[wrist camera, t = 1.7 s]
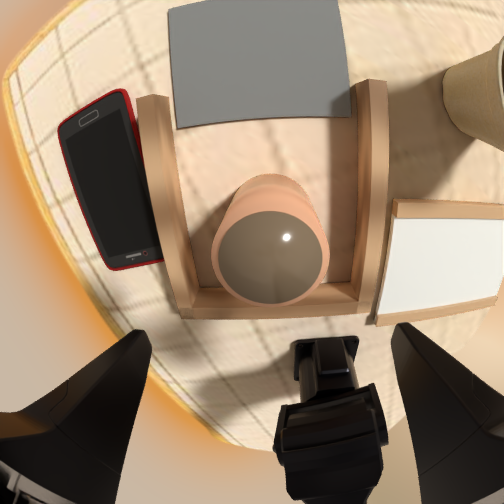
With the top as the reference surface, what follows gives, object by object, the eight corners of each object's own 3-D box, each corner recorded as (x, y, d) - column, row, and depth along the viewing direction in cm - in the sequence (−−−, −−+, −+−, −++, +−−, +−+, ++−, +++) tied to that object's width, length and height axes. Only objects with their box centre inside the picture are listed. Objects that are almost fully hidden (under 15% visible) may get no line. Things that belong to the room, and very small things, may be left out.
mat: (350, 117, 16) (351, 117, 16) (178, 128, 17) (177, 128, 17) (335, -4, 11) (336, -5, 11) (169, 10, 13) (168, 9, 12)
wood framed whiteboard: (518, 205, 17) (523, 209, 16) (490, 300, 22) (494, 305, 21) (392, 198, 18) (398, 202, 17) (373, 320, 24) (376, 326, 23)
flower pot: (409, 115, 15) (485, 124, 8) (435, 26, 11) (501, 3, 3) (483, 172, 16) (550, 206, 8) (506, 90, 12) (570, 99, 4)
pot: (311, 248, 21) (326, 306, 14) (234, 252, 21) (219, 310, 15) (310, 172, 18) (332, 201, 12) (226, 176, 19) (201, 208, 12)
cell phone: (128, 84, 16) (122, 83, 15) (182, 253, 22) (179, 259, 21) (61, 124, 17) (54, 125, 16) (113, 268, 24) (108, 273, 23)
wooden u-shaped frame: (361, 292, 22) (370, 312, 20) (189, 298, 24) (181, 318, 21) (371, 85, 15) (386, 81, 12) (153, 100, 16) (135, 98, 14)
